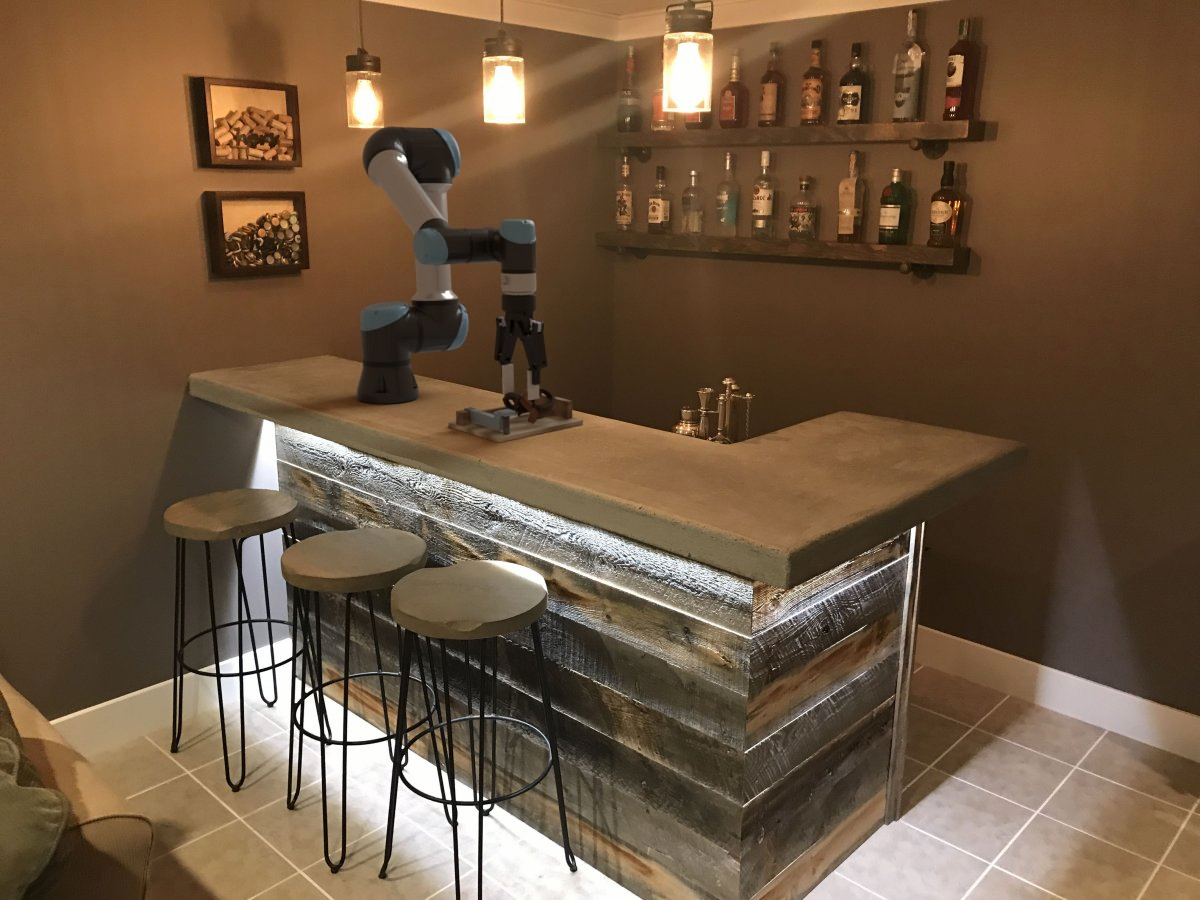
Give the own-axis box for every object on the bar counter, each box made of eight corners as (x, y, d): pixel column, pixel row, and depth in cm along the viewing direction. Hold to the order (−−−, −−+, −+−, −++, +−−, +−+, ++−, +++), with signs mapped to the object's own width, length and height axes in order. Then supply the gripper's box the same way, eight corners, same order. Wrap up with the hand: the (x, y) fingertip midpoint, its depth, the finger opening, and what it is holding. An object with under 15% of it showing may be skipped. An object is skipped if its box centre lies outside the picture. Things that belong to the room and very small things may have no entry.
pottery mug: (552, 414, 224) (560, 388, 219) (548, 441, 217) (556, 414, 212) (501, 402, 223) (508, 374, 217) (495, 428, 216) (503, 401, 210)
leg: (515, 432, 205) (515, 411, 204) (505, 434, 203) (504, 413, 202) (473, 418, 216) (472, 398, 215) (462, 419, 215) (462, 399, 213)
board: (448, 426, 215) (447, 404, 213) (531, 410, 231) (531, 389, 229) (498, 442, 202) (498, 419, 201) (582, 424, 218) (583, 402, 217)
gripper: (475, 290, 214) (478, 391, 220) (537, 297, 199) (538, 405, 205) (502, 288, 219) (504, 387, 225) (564, 295, 204) (564, 400, 210)
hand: (520, 396), depth 215 cm, fingers open, 8 cm apart
